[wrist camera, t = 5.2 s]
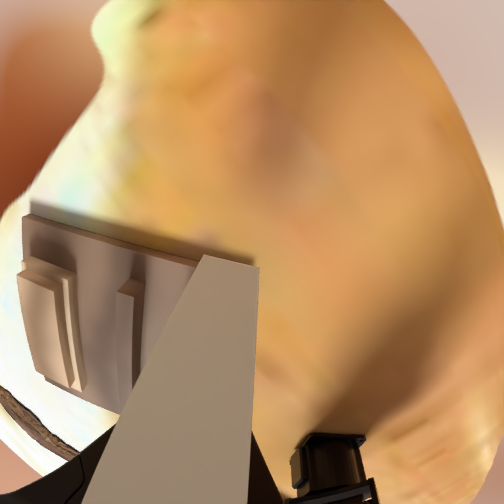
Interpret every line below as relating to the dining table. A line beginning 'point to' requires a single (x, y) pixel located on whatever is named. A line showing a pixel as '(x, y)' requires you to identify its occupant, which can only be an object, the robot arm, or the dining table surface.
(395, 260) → the dining table surface
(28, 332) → the upper oak offcut
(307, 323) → the dining table surface
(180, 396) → the taupe rectangular block
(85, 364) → the walnut rack
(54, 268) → the lower oak offcut
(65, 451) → the wooden fragment
